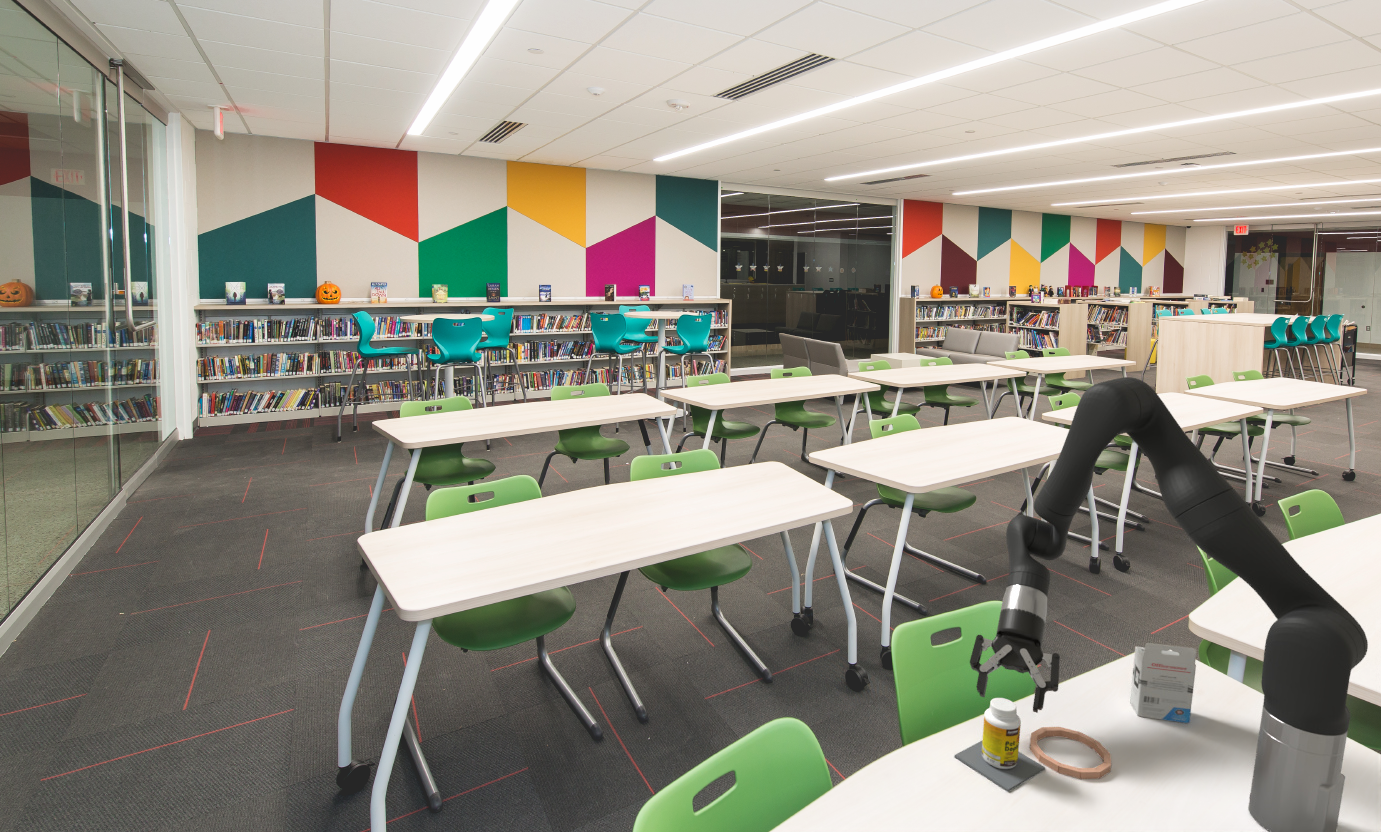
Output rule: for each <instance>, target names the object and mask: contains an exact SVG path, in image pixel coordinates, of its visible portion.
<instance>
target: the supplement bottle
mask: <svg viewBox="0 0 1381 832" xmlns="http://www.w3.org/2000/svg"><path fill="white" fill-rule="evenodd" d="M989 703H990V704H989V708H987V709H986V710H985V711H984V715H983V730H982V740H983V741H982V740H981V741H982V756H983V758H984V760H985V761H986V762H987V763H989V764H990V765H992V766H994V767H996V768H1000V769H1011V768H1013V767H1015V766H1016V764H1017V761H1018V751H1019V748H1020V736H1021V722H1022V721H1021V718H1020V716H1019V715H1018V714H1017V705H1016V703H1015V702H1014V701H1012V700H1010V699H1007V698H1004V697H994V698H992V699H991V700H990V702H989Z"/></svg>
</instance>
